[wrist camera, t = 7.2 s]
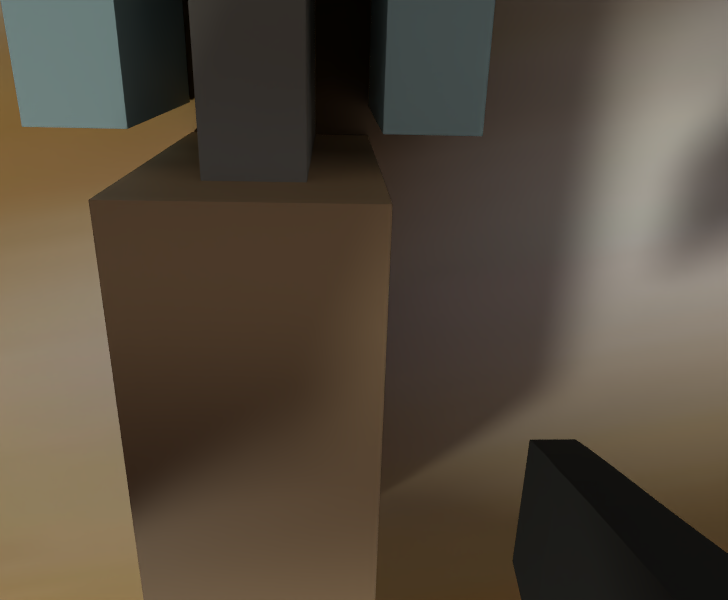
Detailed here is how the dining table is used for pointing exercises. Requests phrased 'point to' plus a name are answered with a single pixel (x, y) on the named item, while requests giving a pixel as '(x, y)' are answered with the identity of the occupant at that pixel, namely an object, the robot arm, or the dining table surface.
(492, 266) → the dining table surface
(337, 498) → the rail
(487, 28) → the grey boxy pieces
